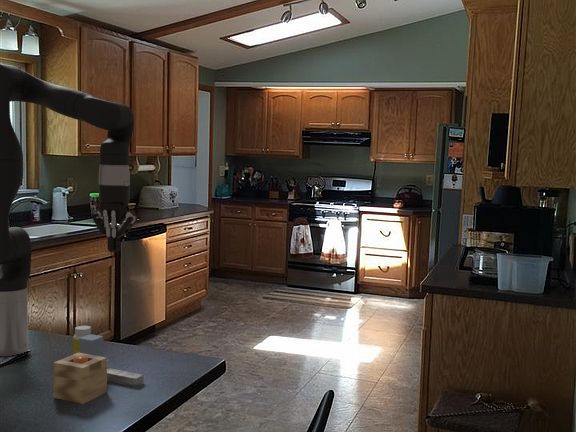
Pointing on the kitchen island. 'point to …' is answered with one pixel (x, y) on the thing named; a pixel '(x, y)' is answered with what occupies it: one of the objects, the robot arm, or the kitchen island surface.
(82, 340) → the carriage
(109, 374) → the rail
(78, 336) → the supplement bottle
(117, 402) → the kitchen island surface
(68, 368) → the open wooden box
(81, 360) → the brown egg
